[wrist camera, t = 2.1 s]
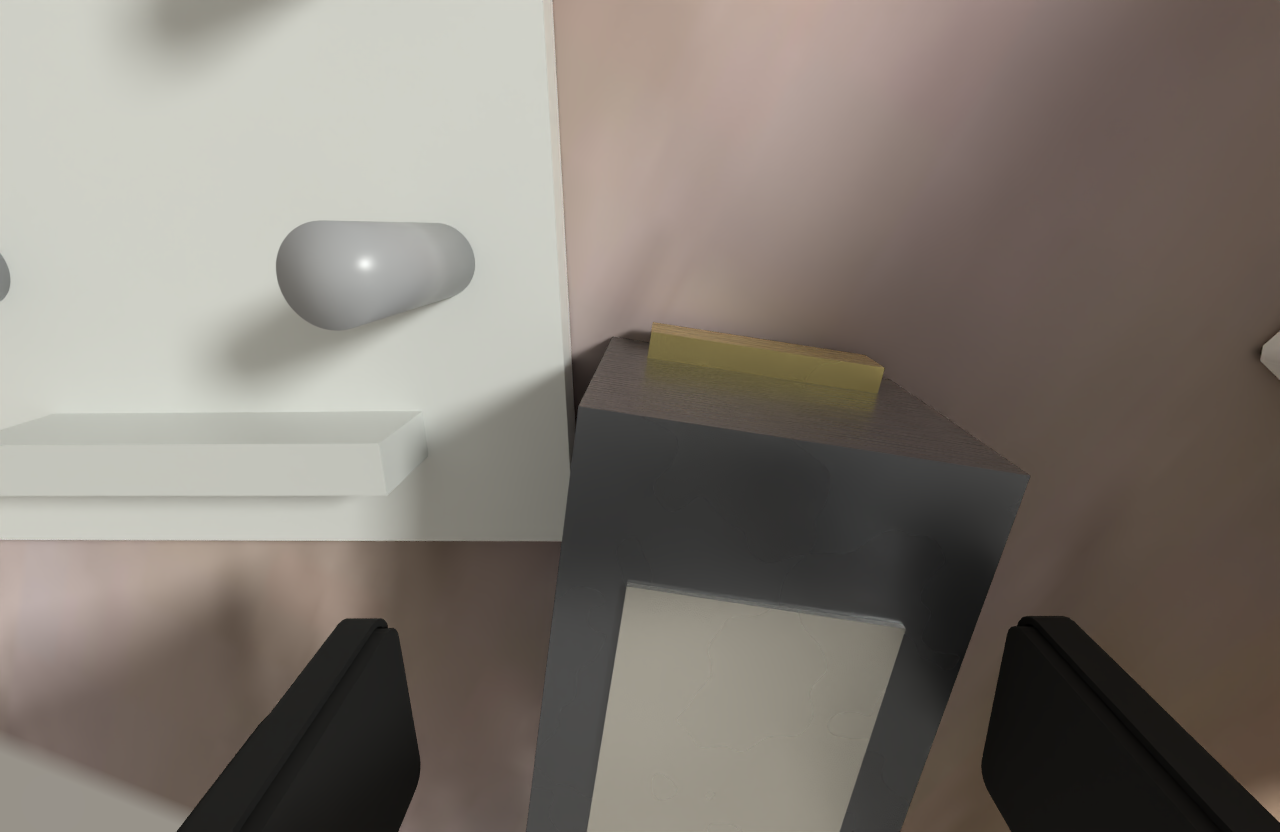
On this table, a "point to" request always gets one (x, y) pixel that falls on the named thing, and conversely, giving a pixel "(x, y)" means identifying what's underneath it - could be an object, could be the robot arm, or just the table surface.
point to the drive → (758, 590)
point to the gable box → (1272, 355)
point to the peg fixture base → (282, 271)
